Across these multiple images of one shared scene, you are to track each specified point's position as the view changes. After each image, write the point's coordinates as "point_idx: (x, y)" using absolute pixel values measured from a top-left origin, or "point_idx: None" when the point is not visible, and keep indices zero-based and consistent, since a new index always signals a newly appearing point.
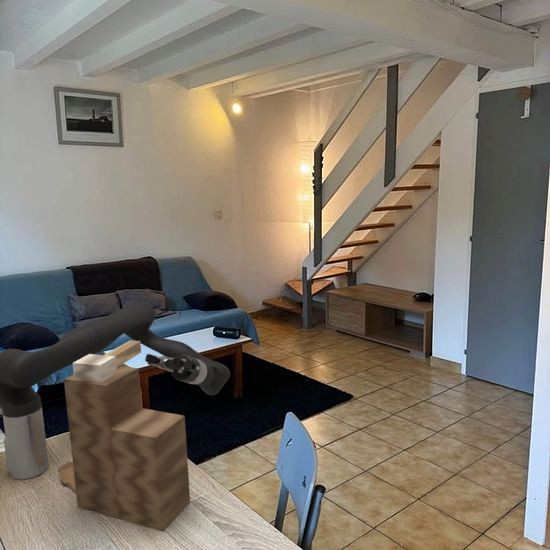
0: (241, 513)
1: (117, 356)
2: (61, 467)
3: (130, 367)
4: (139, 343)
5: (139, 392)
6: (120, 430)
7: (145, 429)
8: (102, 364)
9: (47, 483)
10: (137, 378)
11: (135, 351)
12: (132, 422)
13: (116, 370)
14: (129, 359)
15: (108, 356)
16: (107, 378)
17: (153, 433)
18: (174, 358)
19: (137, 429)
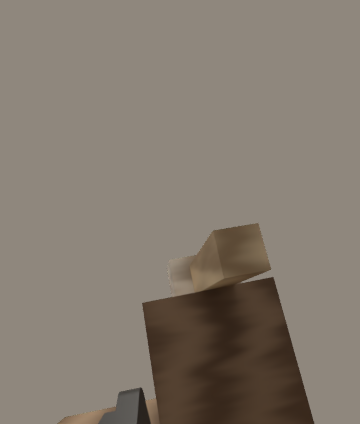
0: None
1: (194, 264)
2: None
3: (165, 298)
4: (213, 239)
5: (153, 374)
6: (147, 400)
7: (98, 415)
8: (167, 268)
9: None
10: (147, 329)
11: (211, 266)
12: None
13: (174, 292)
14: (208, 286)
15: (183, 258)
16: None
17: (75, 418)
18: (127, 394)
19: (115, 410)
